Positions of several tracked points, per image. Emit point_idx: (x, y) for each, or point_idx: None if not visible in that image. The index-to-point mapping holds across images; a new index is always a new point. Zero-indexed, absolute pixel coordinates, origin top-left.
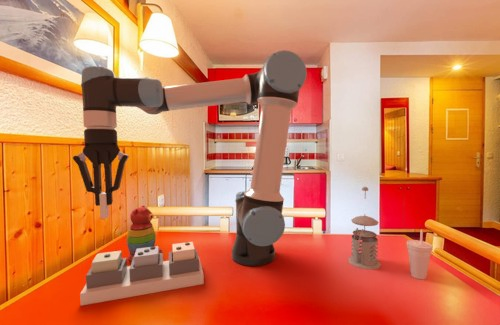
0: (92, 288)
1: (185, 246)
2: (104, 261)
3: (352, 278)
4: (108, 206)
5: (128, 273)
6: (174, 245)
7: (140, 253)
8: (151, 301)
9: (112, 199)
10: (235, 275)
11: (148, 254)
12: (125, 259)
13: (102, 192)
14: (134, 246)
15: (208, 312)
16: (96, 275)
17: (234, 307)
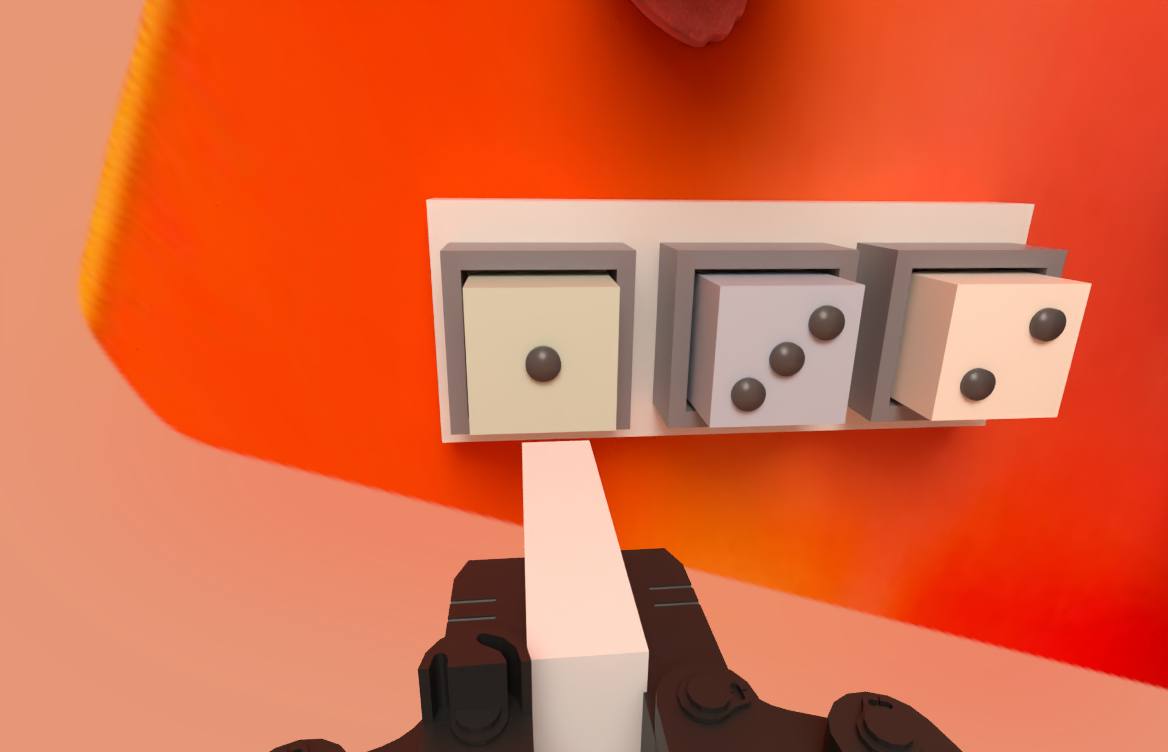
0: None
1: (1022, 359)
2: (542, 431)
3: None
4: (604, 507)
5: (636, 303)
6: (964, 316)
7: (749, 402)
8: (728, 472)
9: (692, 597)
10: (1101, 376)
11: (792, 416)
12: (632, 280)
13: (541, 664)
14: None
15: (904, 585)
16: None
17: (989, 582)
